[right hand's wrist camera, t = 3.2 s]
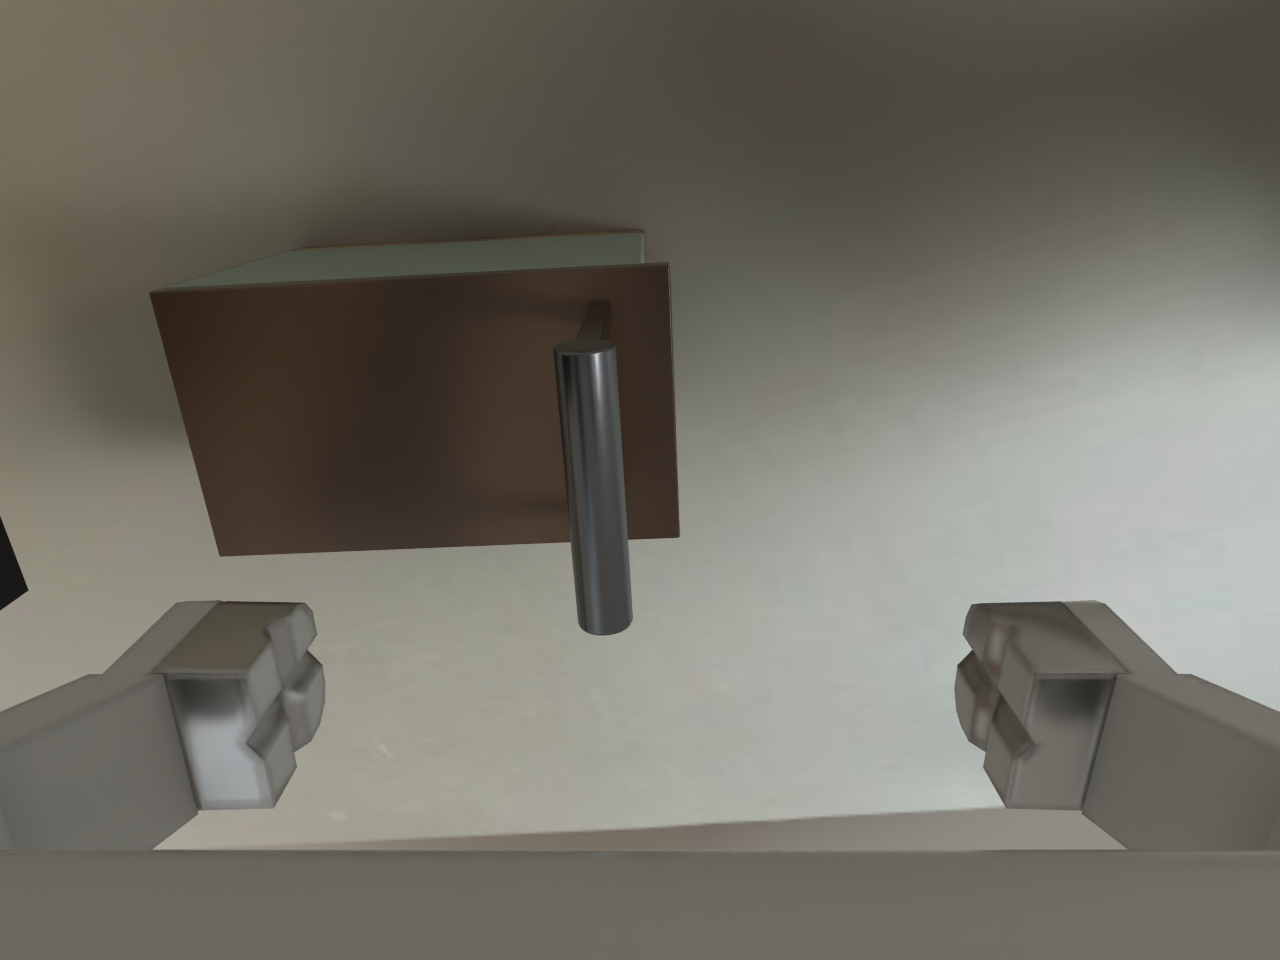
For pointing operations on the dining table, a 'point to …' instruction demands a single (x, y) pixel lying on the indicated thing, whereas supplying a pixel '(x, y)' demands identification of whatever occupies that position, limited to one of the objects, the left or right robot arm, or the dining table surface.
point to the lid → (436, 414)
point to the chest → (437, 258)
